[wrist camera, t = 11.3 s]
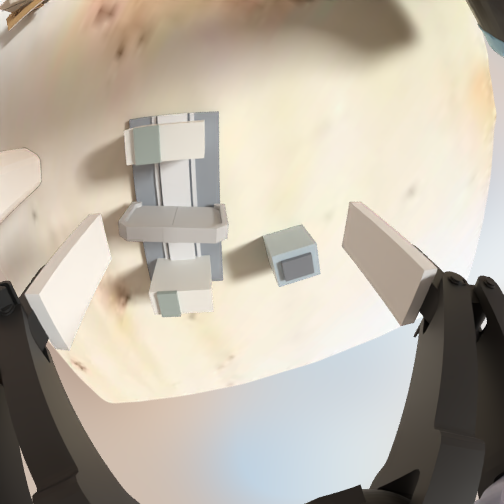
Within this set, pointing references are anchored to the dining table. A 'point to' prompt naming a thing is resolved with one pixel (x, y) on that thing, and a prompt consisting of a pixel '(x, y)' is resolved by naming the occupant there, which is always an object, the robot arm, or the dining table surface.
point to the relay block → (292, 255)
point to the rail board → (182, 189)
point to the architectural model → (19, 10)
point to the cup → (17, 178)
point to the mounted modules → (166, 270)
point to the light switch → (174, 224)
